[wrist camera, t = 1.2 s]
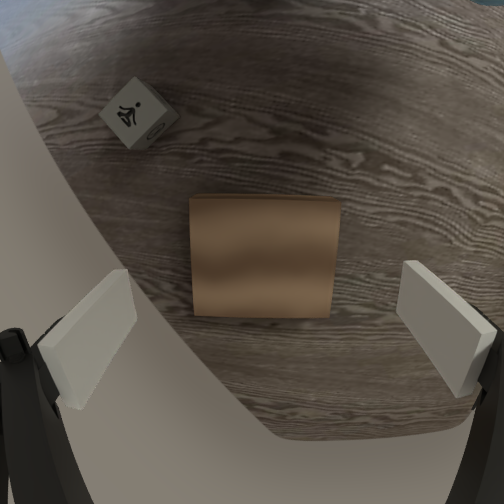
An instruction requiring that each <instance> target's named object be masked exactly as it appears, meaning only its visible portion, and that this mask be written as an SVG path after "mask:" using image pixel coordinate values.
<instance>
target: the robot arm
mask: <svg viewBox="0 0 504 504" xmlns="http://www.w3.org/2000/svg"><path fill="white" fill-rule="evenodd" d="M470 1H472V2H474V3H477V4H480V5H486V6H490V5H491V6H502V5H504V0H470ZM396 313H397V314H398V315H399V317H400V318H401V319H402V321H403V322H404V323H405V325H406V326H407V328H408V329H409V330H410V332H411V333H412V334H413V336H414V337H415V339H416V340H417V341H418V343H419V344H420V346H421V347H422V348H423V350H424V351H425V353H426V354H427V356H428V357H429V358H430V360H431V361H432V363H433V364H434V366H435V367H436V369H437V370H438V372H439V373H440V375H441V376H442V378H443V379H444V381H445V382H446V384H447V385H448V387H449V388H450V390H451V391H452V393H453V394H454V396H455V397H456V398H460V397H463V396H466V395H470V394H472V392H473V390H474V388H475V386H476V384H477V381H478V382H479V383H480V384H481V386H482V389H481V391H480V393H479V395H478V397H477V399H476V401H475V403H474V405H473V407H472V409H471V410H474V409H475V407H476V410H475V414H474V418H473V423H472V426H471V430H470V434H469V438H468V441H467V445H466V448H465V452H464V455H463V458H462V461H461V464H460V467H459V470H458V473H457V475H456V478H455V481H454V484H453V486H452V489H451V491H450V494H449V496H448V499H447V501H446V503H445V504H504V332H503V331H502V330H501V329H500V328H499V327H498V326H497V325H496V324H494V323H493V322H492V321H491V320H489V318H488V317H487V316H486V315H485V314H484V315H483V313H482V312H481V311H480V310H479V309H478V308H477V307H475V306H473V305H471V304H469V303H468V302H466V301H465V300H464V299H462V298H461V297H460V296H459V295H458V294H457V293H456V292H454V291H453V290H452V289H451V288H450V287H449V286H447V285H446V284H445V283H444V282H443V281H442V280H440V279H439V278H438V277H437V276H436V275H434V274H433V273H432V272H431V271H429V270H428V269H427V268H426V267H425V266H423V265H422V264H421V263H420V262H418V261H417V260H413V261H403V269H402V277H401V283H400V290H399V296H398V302H397V308H396ZM136 321H137V314H136V310H135V305H134V300H133V295H132V290H131V285H130V280H129V274H128V269H114V270H112V271H111V272H110V273H109V274H108V275H107V276H106V277H105V278H104V279H103V280H102V281H101V282H100V283H98V285H96V286H95V287H94V288H93V289H92V290H91V291H90V292H89V293H88V294H87V295H86V296H85V297H84V298H83V299H82V300H81V301H80V302H79V303H78V304H77V305H76V306H75V307H74V308H73V309H72V310H71V311H70V312H69V313H68V314H67V315H65V316H63V317H62V318H60V319H58V320H57V321H56V322H55V323H54V324H53V325H52V326H51V327H50V328H49V329H48V330H47V331H46V332H45V334H43V335H42V336H41V337H40V338H39V339H38V340H37V341H36V342H35V343H34V344H33V345H32V346H31V347H30V346H29V344H28V342H27V339H26V336H25V334H24V331H23V330H22V329H20V328H10V329H7V330H4V331H2V332H1V333H0V360H1V362H0V504H8V480H9V478H10V482H11V488H12V493H13V498H14V502H15V504H94V503H93V501H92V499H91V496H90V494H89V492H88V490H87V487H86V485H85V483H84V480H83V478H82V475H81V473H80V470H79V468H78V465H77V463H76V460H75V457H74V455H73V452H72V449H71V446H70V443H69V440H68V437H67V434H66V431H65V428H64V424H63V421H62V418H61V414H60V411H59V407H58V406H57V404H56V402H55V401H56V399H57V397H58V396H59V395H60V396H61V398H62V400H63V402H64V404H65V406H67V407H71V408H75V409H80V410H82V409H83V408H84V406H85V404H86V402H87V401H88V399H89V397H90V396H91V394H92V392H93V391H94V389H95V387H96V386H97V384H98V382H99V381H100V379H101V377H102V376H103V374H104V372H105V371H106V369H107V367H108V366H109V364H110V362H111V361H112V359H113V357H114V356H115V354H116V353H117V351H118V350H119V348H120V346H121V345H122V343H123V341H124V340H125V338H126V337H127V335H128V334H129V332H130V331H131V329H132V327H133V326H134V324H135V323H136Z"/></svg>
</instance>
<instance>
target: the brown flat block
mask: <svg viewBox="0 0 504 504" xmlns="http://www.w3.org/2000/svg"><path fill="white" fill-rule="evenodd" d="M340 214H341V202H340V201H338V200H336V199H335V198H333V197H330V196H310V195H283V194H239V193H197V194H195V195H194V196H192V197H191V198H189V221H190V249H191V271H192V288H193V304H194V316H214V317H246V318H329V315H330V308H331V300H332V293H333V285H334V276H335V267H336V258H337V248H338V237H339V226H340Z"/></svg>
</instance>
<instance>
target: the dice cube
mask: <svg viewBox="0 0 504 504" xmlns="http://www.w3.org/2000/svg"><path fill="white" fill-rule="evenodd" d="M98 115H99V116H100V117H101V118H102V119H103V120H104V122H105V123H106V124H107V125H108V126H109V127H110V128H111V130H112V131H113V132H114V133H115V134H116V135H117V136H118V138H119V139H120V140H121V141H122V142H123V143H124V144H125V146H126V147H127V148H128V149H147V148H148V147H149V146H150V145H151V144H152V143H153V142H154V141H155V140H156V139H157V138H158V137H159V136H160V135H161V134H162V133H163V132H164V131H165V130H167V129H168V128H169V127H170V126H171V125H172V124H173V123H174V122H175V121H176V120H177V119H178V118H179V117H180V115H179V114H178V113H177V112H176V111H175V110H174V109H173V108H172V107H171V106H170V105H169V104H168V103H167V102H166V101H165V99H164V98H163V97H162V96H161V95H160V94H159V93H158V92H157V91H156V90H155V89H154V88H153V87H152V86H151V85H149V84H148V83H146V82H144V81H143V80H141V79H139V78H138V77H136V76H134V77H133V78H132V79H131V80H130V81H129V82H128V83H127V84H126V85H125V86H124V87H123V88H122V89H121V90H120V91H119V92H118V93H117V94H116V95H115V96H114V98H113V99H112V100H111V101H110V102H109V103H108V104H107V105H106V106H105V107H104V108H103V110H102V111H101V112H100V113H99V114H98Z"/></svg>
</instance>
